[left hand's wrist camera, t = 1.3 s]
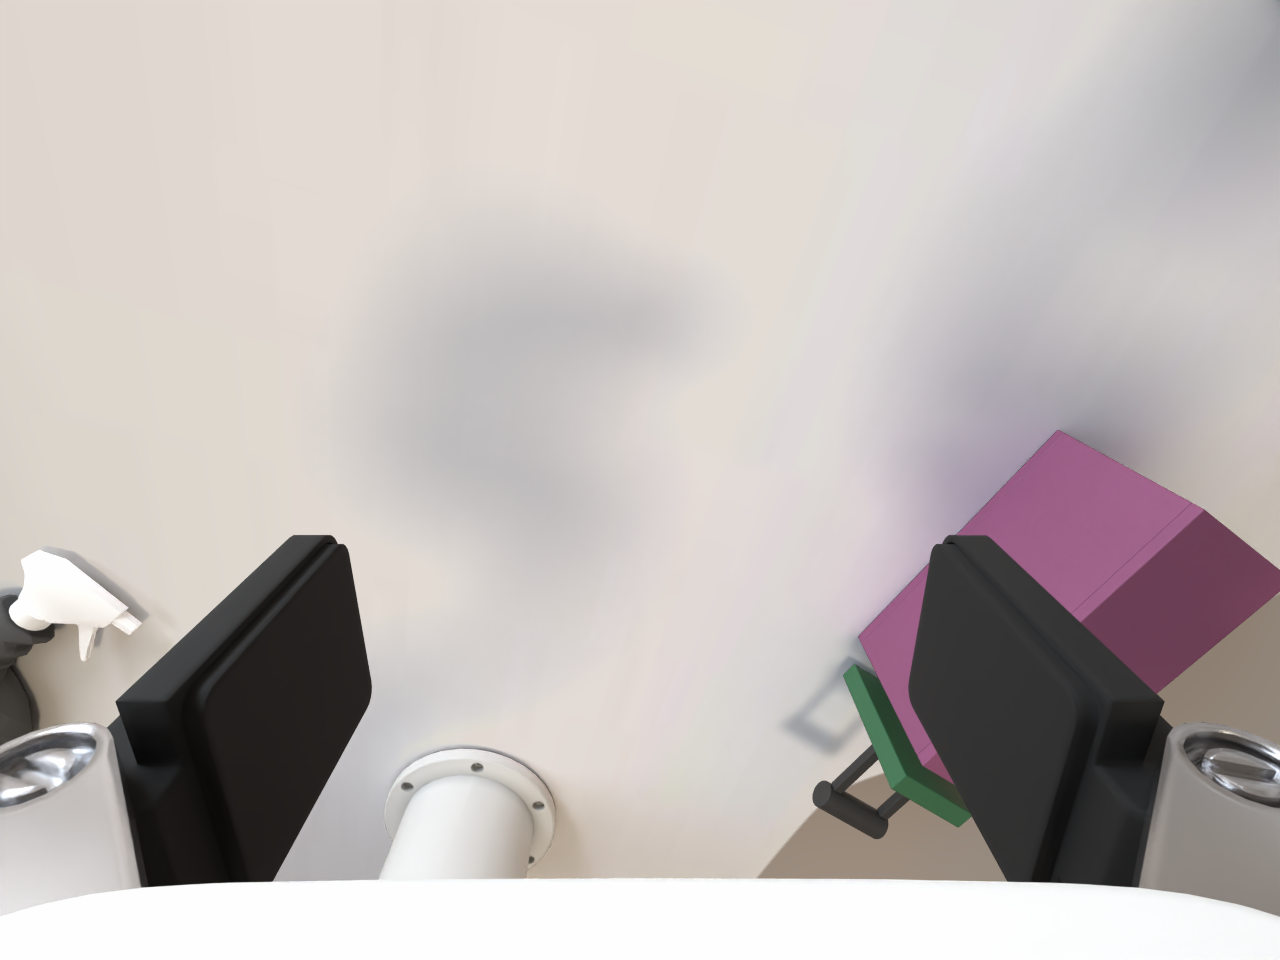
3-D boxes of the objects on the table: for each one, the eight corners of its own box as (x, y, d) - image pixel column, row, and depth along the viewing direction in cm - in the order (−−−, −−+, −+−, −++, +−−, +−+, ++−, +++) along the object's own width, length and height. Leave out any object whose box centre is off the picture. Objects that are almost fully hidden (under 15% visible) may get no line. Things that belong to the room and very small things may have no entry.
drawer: (845, 760, 49) (890, 885, 40) (790, 728, 48) (824, 849, 39) (1085, 530, 42) (1204, 619, 33) (1026, 487, 41) (1134, 566, 32)
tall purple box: (926, 680, 47) (1008, 817, 37) (857, 636, 46) (921, 766, 35) (1129, 485, 42) (1293, 581, 31) (1057, 429, 40) (1204, 509, 30)
